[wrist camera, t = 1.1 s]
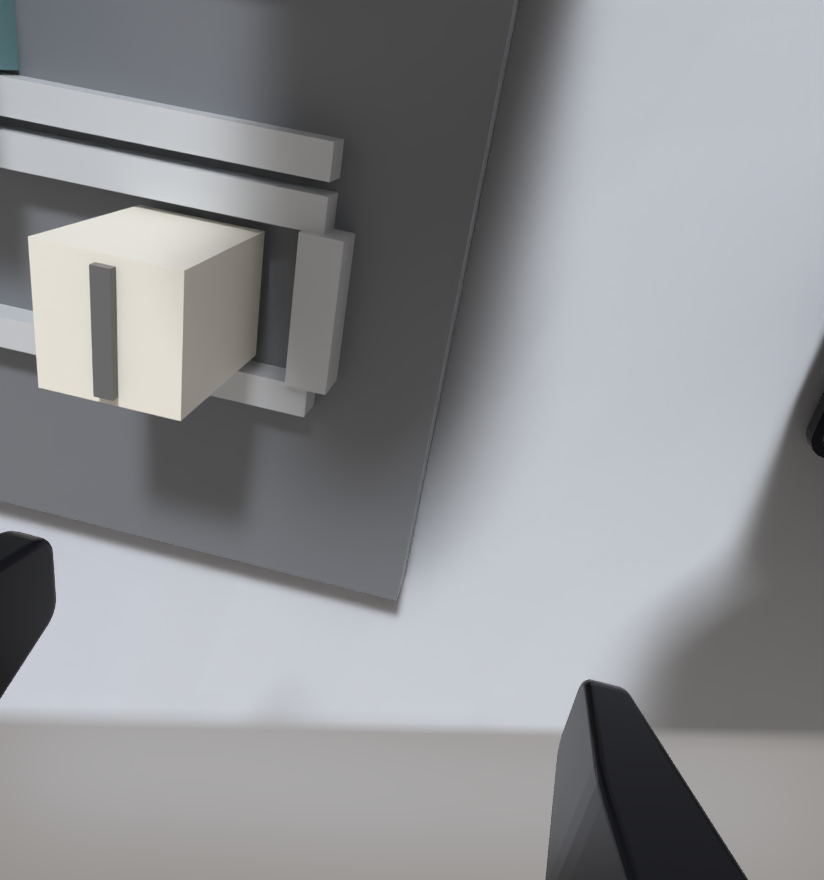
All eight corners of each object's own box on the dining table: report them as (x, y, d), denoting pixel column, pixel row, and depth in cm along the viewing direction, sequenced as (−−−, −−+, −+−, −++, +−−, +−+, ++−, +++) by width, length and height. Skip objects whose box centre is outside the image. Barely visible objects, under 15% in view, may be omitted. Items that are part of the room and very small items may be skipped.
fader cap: (264, 231, 17) (178, 272, 13) (256, 355, 18) (176, 425, 14) (139, 204, 17) (20, 238, 13) (139, 328, 18) (31, 391, 15)
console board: (532, -67, 15) (518, -136, 10) (404, 576, 22) (362, 707, 17) (-356, -215, 16) (-713, -332, 12) (-204, 424, 24) (-389, 506, 19)
